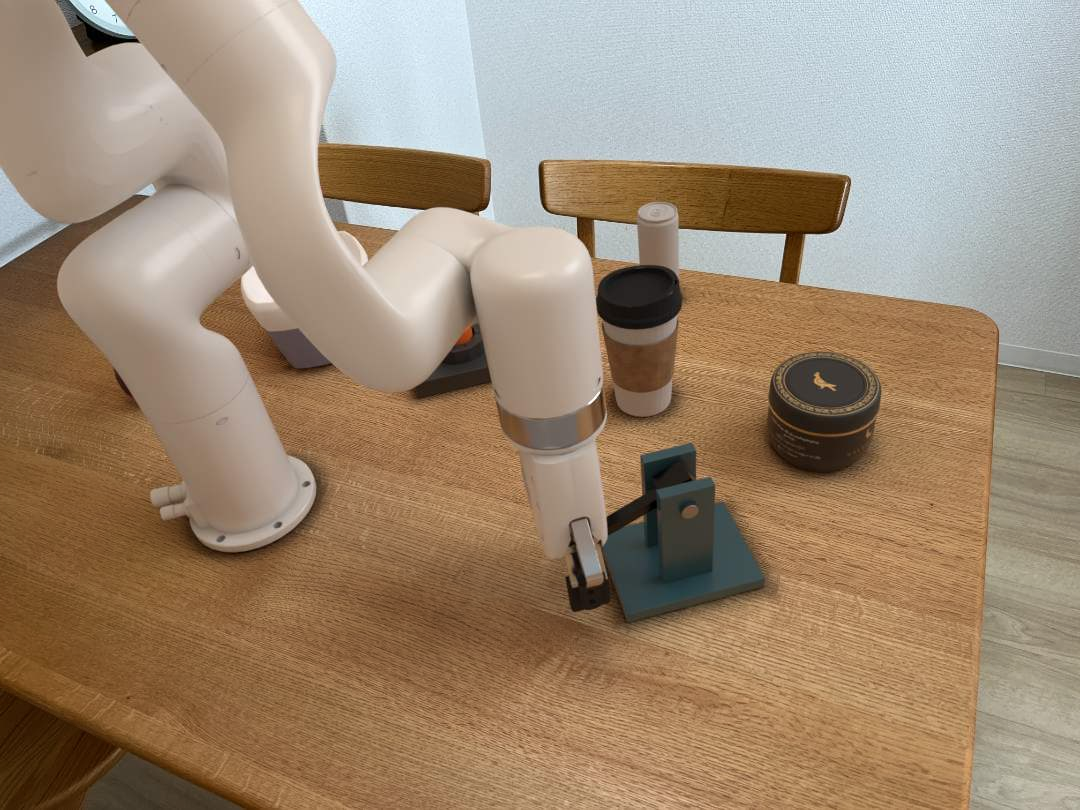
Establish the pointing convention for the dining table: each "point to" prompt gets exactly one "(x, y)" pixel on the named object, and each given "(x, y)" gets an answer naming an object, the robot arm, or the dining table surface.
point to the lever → (644, 501)
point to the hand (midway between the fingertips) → (575, 558)
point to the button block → (459, 368)
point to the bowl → (278, 322)
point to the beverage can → (658, 235)
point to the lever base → (679, 546)
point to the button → (465, 337)
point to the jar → (822, 410)
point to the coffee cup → (640, 335)
